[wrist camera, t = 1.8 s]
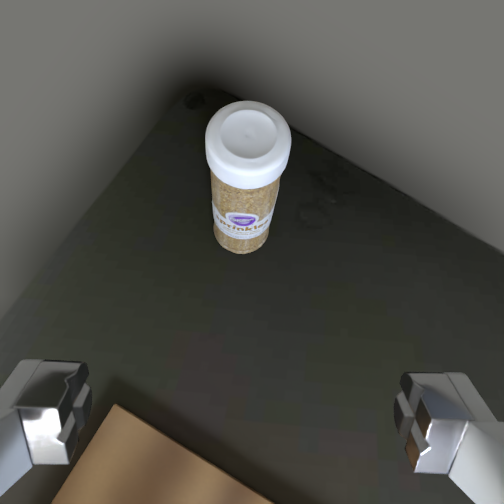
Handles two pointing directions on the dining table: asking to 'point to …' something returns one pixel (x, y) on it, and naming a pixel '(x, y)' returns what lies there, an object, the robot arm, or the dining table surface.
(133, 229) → the dining table surface
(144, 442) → the wooden board
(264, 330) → the dining table surface
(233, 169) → the sprinkles bottle
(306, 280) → the dining table surface
